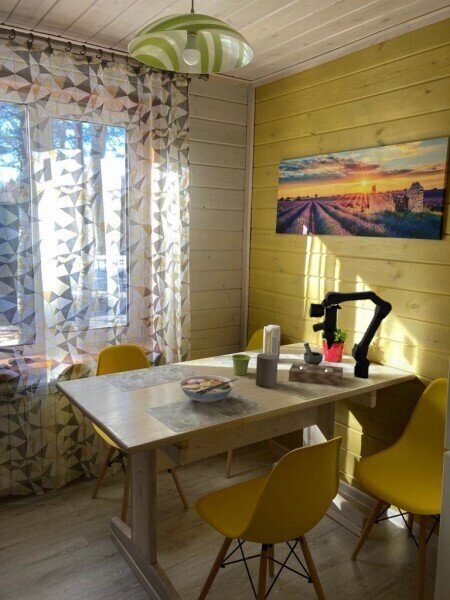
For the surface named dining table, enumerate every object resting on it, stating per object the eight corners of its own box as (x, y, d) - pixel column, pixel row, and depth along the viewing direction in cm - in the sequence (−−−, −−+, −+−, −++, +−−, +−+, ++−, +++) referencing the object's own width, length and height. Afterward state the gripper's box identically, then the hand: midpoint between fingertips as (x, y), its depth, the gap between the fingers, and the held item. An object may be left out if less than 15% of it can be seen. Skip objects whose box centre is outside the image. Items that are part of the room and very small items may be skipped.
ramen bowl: (205, 386, 227) (206, 369, 225) (246, 399, 212) (247, 380, 211) (165, 401, 207) (165, 382, 206) (207, 415, 193) (207, 395, 192)
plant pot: (250, 371, 251) (251, 354, 250) (249, 377, 242) (250, 359, 240) (231, 370, 252) (232, 353, 250) (230, 376, 243) (230, 358, 241)
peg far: (307, 376, 244) (308, 366, 243) (307, 378, 240) (307, 368, 240) (299, 375, 245) (300, 365, 244) (298, 377, 241) (299, 367, 241)
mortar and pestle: (326, 367, 260) (327, 345, 258) (313, 371, 254) (315, 347, 252) (309, 362, 269) (310, 340, 267) (297, 365, 263) (298, 343, 261)
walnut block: (342, 377, 245) (342, 367, 244) (340, 386, 232) (341, 375, 231) (292, 372, 251) (293, 362, 250) (288, 380, 238) (289, 370, 237)
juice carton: (280, 360, 273) (282, 325, 270) (273, 363, 265) (275, 328, 262) (268, 357, 276) (269, 323, 273) (260, 361, 269) (262, 326, 266)
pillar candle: (252, 385, 229) (253, 353, 227) (260, 379, 238) (262, 349, 236) (271, 389, 225) (273, 357, 223) (280, 383, 234) (281, 352, 231)
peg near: (333, 378, 241) (333, 368, 240) (332, 381, 237) (333, 370, 237) (324, 377, 242) (325, 367, 241) (324, 380, 238) (324, 370, 238)
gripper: (315, 313, 254) (314, 343, 257) (312, 320, 236) (310, 352, 239) (338, 315, 251) (336, 345, 254) (336, 322, 233) (334, 354, 236)
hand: (329, 349), depth 246 cm, fingers closed
